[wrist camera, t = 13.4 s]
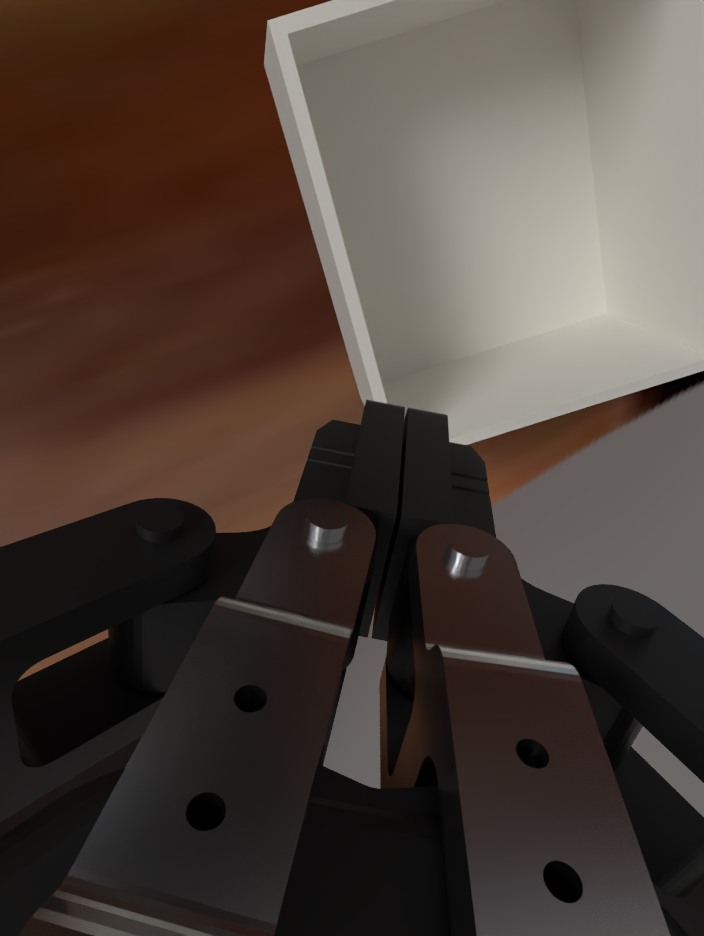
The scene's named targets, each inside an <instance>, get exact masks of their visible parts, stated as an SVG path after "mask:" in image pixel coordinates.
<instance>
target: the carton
mask: <svg viewBox="0 0 704 936" xmlns="http://www.w3.org/2000/svg"><path fill="white" fill-rule="evenodd" d="M264 66H265V70H266V73H267V77H268V80H269V84H270V87H271V91H272V94H273V98H274V101H275V104H276V108H277V111H278V115H279V118H280V122H281V125H282V129H283V132H284V136H285V139H286V142H287V146H288V149H289V153H290V156H291V160H292V163H293V167H294V170H295V174H296V177H297V180H298V184H299V187H300V191H301V194H302V198H303V201H304V205H305V208H306V212H307V215H308V219H309V222H310V225H311V229H312V232H313V236H314V239H315V243H316V246H317V250H318V253H319V257H320V260H321V263H322V267H323V270H324V274H325V277H326V281H327V284H328V288H329V291H330V295H331V298H332V302H333V305H334V308H335V312H336V315H337V319H338V322H339V326H340V329H341V333H342V336H343V340H344V343H345V346H346V350H347V353H348V357H349V360H350V364H351V367H352V371H353V374H354V378H355V381H356V384H357V388H358V391H359V395H360V397H361V399H362V401H363V404H364V406H365V403H366V400H372V401H377V402H382V403H387V404H392V405H398V406H403V407H405V415H404V420H405V416H406V412H407V409H408V407H409V408H414V409H419V410H425V411H430V412H435V413H440V414H445V415H447V416H448V429H449V442H452V443H457V444H463V445H468V444H471V443H474V442H477V441H481V440H484V439H487V438H490V437H493V436H497V435H500V434H503V433H506V432H509V431H513V430H516V429H519V428H522V427H525V426H528V425H532V424H535V423H538V422H541V421H544V420H548V419H551V418H554V417H557V416H560V415H564V414H567V413H570V412H573V411H576V410H580V409H583V408H586V407H589V406H592V405H595V404H599V403H602V402H605V401H608V400H611V399H615V398H618V397H621V396H624V395H627V394H631V393H634V392H637V391H640V390H643V389H647V388H650V387H653V386H656V385H659V384H663V383H666V382H669V381H672V380H675V379H678V378H682V377H685V376H688V375H691V374H694V373H698V372H701V371H704V0H332V1H329V2H326V3H323V4H319V5H316V6H313V7H310V8H307V9H303V10H300V11H297V12H294V13H290V14H287V15H284V16H281V17H278V18H274V19H271V20H268V23H267V34H266V46H265V57H264Z"/></svg>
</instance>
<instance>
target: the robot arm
mask: <svg viewBox="0 0 704 936" xmlns="http://www.w3.org/2000/svg"><path fill="white" fill-rule="evenodd" d="M404 415H405V407H403V406H398V405H392V404H387V403H382V402H377V401H372V400H366V403H365V408H364V412H363V417H362V422H361V425H357V424H352V423H347V422H342V421H337V420H332V421H330V422H329V423H327V424H326V425H324V426H323V427H321V428H320V429H319V430H317V432H316V435H315V438H314V441H313V444H312V448H311V450H310V453H309V456H308V460H307V462H306V465H305V468H304V471H303V474H302V477H301V480H300V483H299V486H298V489H297V492H296V495H295V498H294V501H293V502H292V503H290V504H288V505H287V506H285V507H284V508H282V509H281V510H280V512H279V513H278V514H277V516H276V518H275V520H274V522H273V524H272V526H270V527H268V528H265V529H261V530H257V531H251V532H240V533H216V527H215V524H214V521H213V520H212V518H211V516H210V515H209V514H208V513H207V512H206V511H204V510H203V509H201V508H200V507H198V506H196V505H194V504H191V503H188V502H185V501H181V500H177V499H169V498H153V499H145V500H139V501H136V502H132V503H129V504H126V505H123V506H120V507H117V508H114V509H111V510H109V511H106V512H103V513H100V514H97V515H94V516H91V517H88V518H85V519H82V520H79V521H76V522H73V523H70V524H67V525H64V526H61V527H59V528H56V529H53V530H50V531H47V532H44V533H41V534H38V535H35V536H32V537H29V538H26V539H23V540H20V541H17V542H14V543H11V544H9V545H6V546H3V547H0V822H1V821H2V820H4V819H5V818H7V817H9V816H10V815H12V814H14V813H15V812H17V811H19V810H20V809H22V808H24V807H25V806H27V805H29V804H30V803H32V802H33V801H35V800H37V799H38V798H40V797H42V796H43V795H45V794H47V793H48V792H50V791H51V790H53V789H55V788H56V787H58V786H60V785H61V784H63V783H65V782H66V781H68V780H69V779H71V778H73V777H74V776H76V775H78V774H79V773H81V772H83V771H84V770H86V769H88V768H89V767H91V766H92V765H94V764H96V763H97V762H99V761H101V760H102V759H104V758H105V757H107V756H109V755H110V754H112V753H114V752H115V751H117V750H118V749H120V748H122V747H123V746H125V745H127V744H128V743H130V742H132V741H133V740H135V739H137V738H138V737H140V736H141V735H143V734H144V735H143V736H142V738H141V740H140V742H139V744H138V746H137V747H136V749H135V751H134V753H133V755H132V757H131V759H130V760H129V762H128V764H127V766H126V768H123V769H120V770H117V771H114V772H111V773H109V774H106V775H104V776H101V777H98V778H96V779H93V780H91V781H90V782H88V783H85V784H84V785H82V786H80V787H78V788H76V789H74V790H72V791H70V792H68V793H67V794H65V795H63V796H62V797H60V798H58V799H57V800H55V801H54V802H52V803H51V804H49V805H48V806H46V807H45V808H43V809H42V810H40V811H39V812H37V813H36V814H34V815H33V816H31V817H30V818H28V819H26V820H25V821H23V822H22V823H20V824H19V825H17V826H16V827H14V828H13V829H11V830H10V831H8V832H7V833H5V834H4V835H2V836H1V837H0V936H704V817H703V816H702V815H701V814H699V813H698V812H697V811H696V810H695V809H694V808H693V807H692V806H691V805H690V804H689V803H688V802H687V801H686V800H685V799H684V798H683V797H682V796H681V795H680V794H679V793H678V792H677V791H676V790H675V789H674V788H673V787H672V786H671V785H670V784H669V783H668V782H667V781H666V780H665V779H664V778H663V777H662V776H661V775H660V774H659V773H658V772H657V771H655V769H654V768H652V767H651V766H650V765H649V764H648V763H647V762H646V761H645V760H644V759H643V758H642V757H641V756H640V755H639V754H638V753H637V752H636V751H635V750H634V749H633V748H632V747H631V745H632V743H633V742H634V740H635V738H636V737H637V735H638V733H639V732H640V730H641V728H642V727H643V726H644V727H645V728H646V729H647V730H648V731H649V732H650V733H651V734H652V735H653V736H654V737H655V738H656V739H658V740H659V741H660V742H661V743H662V744H663V745H664V746H665V747H666V748H667V749H668V750H669V751H670V752H671V753H673V754H674V755H675V756H676V757H677V758H678V759H679V760H680V761H681V762H682V763H683V764H684V765H685V766H686V767H688V768H689V769H690V770H691V771H692V772H693V773H694V774H695V775H696V776H697V777H698V778H699V779H700V780H702V782H703V783H704V638H703V637H702V636H700V635H699V634H698V633H697V632H695V631H694V630H693V629H691V628H690V627H689V626H688V625H686V624H685V623H684V622H682V621H681V620H680V619H678V618H677V617H676V616H674V615H673V614H672V613H670V612H669V611H668V610H667V609H665V608H664V607H663V606H661V605H660V604H658V603H657V602H656V601H654V600H652V599H650V598H649V597H647V596H645V595H643V594H641V593H639V592H636V591H633V590H630V589H628V588H624V587H620V586H615V585H604V584H601V585H593V586H590V587H587V588H585V589H583V590H582V591H581V592H580V593H579V595H578V596H577V598H576V601H575V603H571V602H569V601H567V600H564V599H562V598H559V597H557V596H555V595H552V594H550V593H547V592H545V591H543V590H541V589H538V588H536V587H534V586H532V585H531V584H529V583H527V582H526V581H524V580H523V579H521V577H520V573H519V570H518V567H517V563H516V561H515V558H514V556H513V554H512V553H511V551H510V550H509V549H508V548H507V547H506V545H505V544H503V543H502V542H501V541H500V540H498V539H497V538H496V534H495V528H494V522H493V515H492V508H491V501H490V496H489V488H488V482H487V474H486V468H485V462H484V461H483V460H482V459H481V457H480V456H479V455H478V454H477V453H476V451H475V450H474V449H473V448H472V447H471V446H468V445H463V444H457V443H452V442H449V429H448V416H447V415H445V414H440V413H435V412H430V411H425V410H419V409H414V408H409V407H408V409H407V412H406V416H405V420H404ZM374 608H375V613H374V622H373V631H372V638H374V639H379V640H385V641H388V642H387V655H386V659H385V663H384V666H383V670H382V674H381V678H380V685H379V686H380V688H379V689H380V782H381V783H380V789H377V788H372V787H368V786H366V785H363V784H361V783H359V782H357V781H354V780H352V779H350V778H348V777H345V776H344V775H341V774H339V773H337V772H335V771H333V770H330V769H328V768H326V767H324V766H323V764H324V759H325V755H326V751H327V747H328V743H329V739H330V735H331V730H332V727H333V723H334V718H335V715H336V710H337V706H338V702H339V698H340V694H341V690H342V686H343V682H344V678H345V673H346V669H347V666H348V665H349V664H350V663H351V661H352V659H353V657H354V653H355V648H356V645H357V640H358V636H363V637H368V633H369V628H370V624H371V621H372V616H373V612H374ZM107 629H108V635H109V638H107V639H105V640H103V641H101V642H98V643H96V644H94V645H92V646H90V647H88V648H86V649H84V650H82V651H80V652H78V653H76V654H73V655H71V656H69V657H67V658H65V659H63V660H61V661H59V662H57V663H55V664H53V665H51V666H48V667H46V668H44V669H42V670H40V671H38V672H36V673H34V674H32V675H30V676H28V677H26V678H24V679H21V680H19V678H20V677H21V676H22V675H23V674H24V673H25V672H26V671H27V670H28V669H29V668H30V667H32V666H33V665H35V664H36V663H38V662H39V661H41V660H43V659H45V658H47V657H50V656H52V655H54V654H56V653H58V652H60V651H62V650H64V649H67V648H69V647H71V646H73V645H75V644H77V643H79V642H81V641H84V640H86V639H88V638H90V637H92V636H94V635H96V634H98V633H101V632H103V631H105V630H107ZM18 680H19V681H18Z"/></svg>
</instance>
